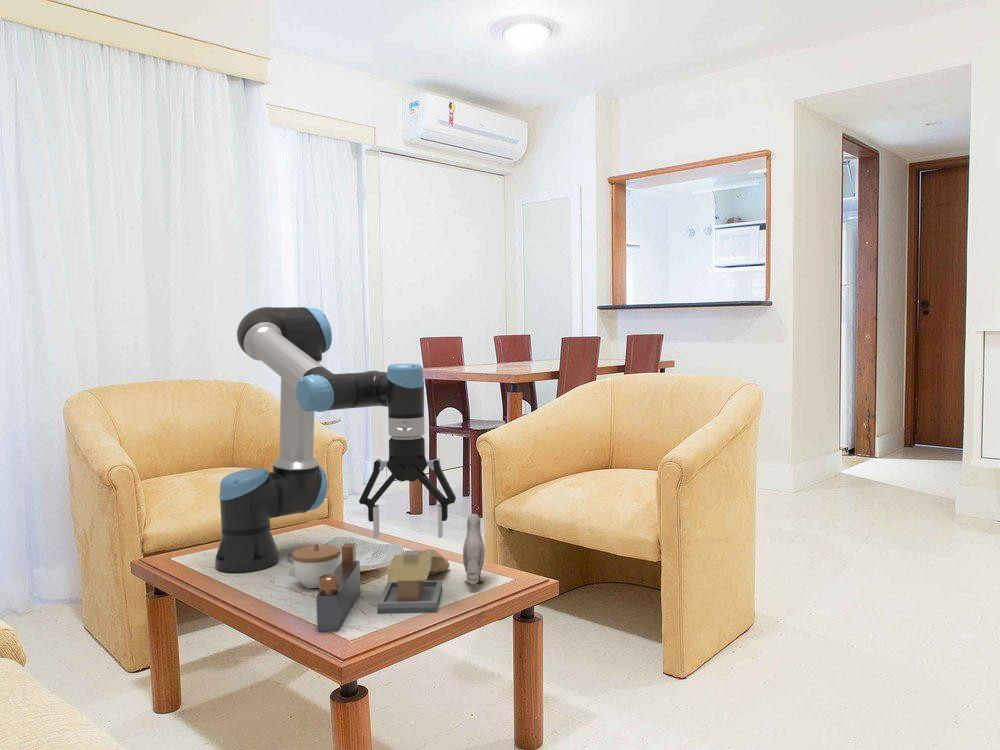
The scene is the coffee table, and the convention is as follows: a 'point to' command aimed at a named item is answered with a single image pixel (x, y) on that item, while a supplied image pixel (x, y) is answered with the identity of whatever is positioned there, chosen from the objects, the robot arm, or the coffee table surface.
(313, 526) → the coffee table surface
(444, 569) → the pottery oil lamp
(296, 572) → the lidded jar
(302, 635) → the coffee table surface
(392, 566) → the lever cap
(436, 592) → the tray
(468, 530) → the bird
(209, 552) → the coffee table surface
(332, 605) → the plane
